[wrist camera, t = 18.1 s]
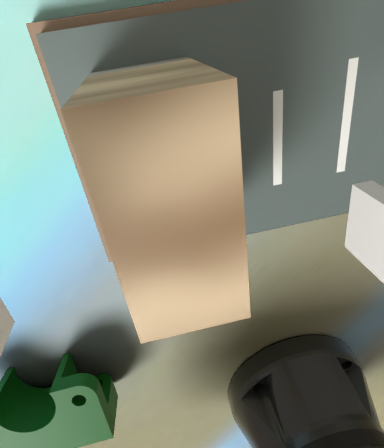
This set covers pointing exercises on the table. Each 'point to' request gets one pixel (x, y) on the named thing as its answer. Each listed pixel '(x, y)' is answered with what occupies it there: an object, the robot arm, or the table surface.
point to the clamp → (57, 409)
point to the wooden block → (167, 190)
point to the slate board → (254, 88)
